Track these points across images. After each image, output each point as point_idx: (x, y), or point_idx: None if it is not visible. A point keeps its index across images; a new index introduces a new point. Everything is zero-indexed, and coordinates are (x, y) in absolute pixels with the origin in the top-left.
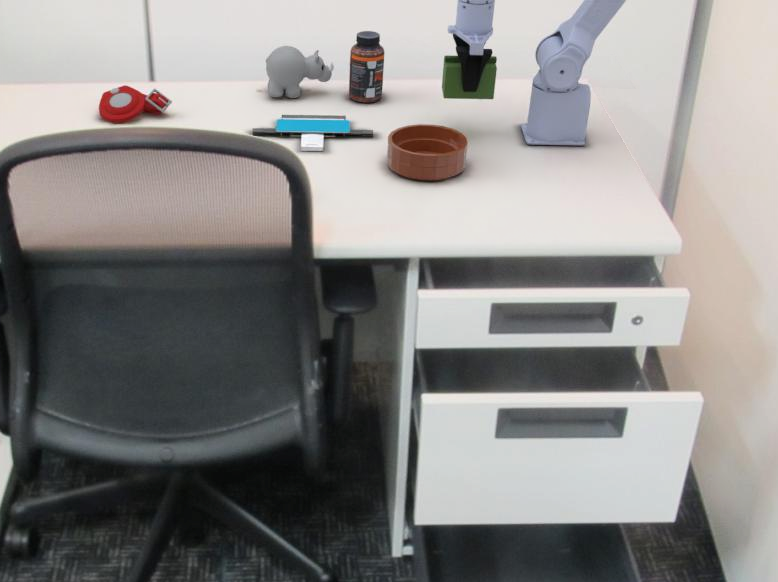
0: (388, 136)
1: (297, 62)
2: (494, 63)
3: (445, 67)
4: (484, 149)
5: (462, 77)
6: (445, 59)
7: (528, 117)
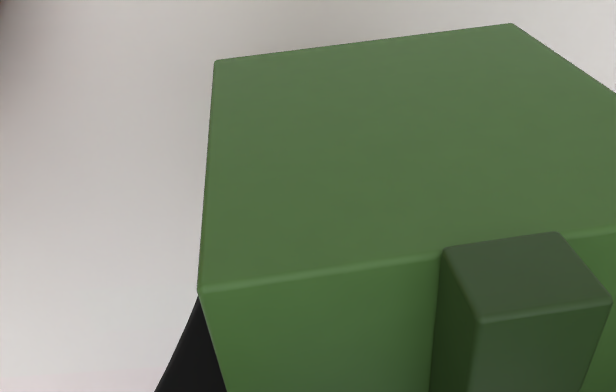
0: None
1: None
2: None
3: (328, 228)
4: (152, 192)
5: (170, 367)
6: (462, 292)
7: None
